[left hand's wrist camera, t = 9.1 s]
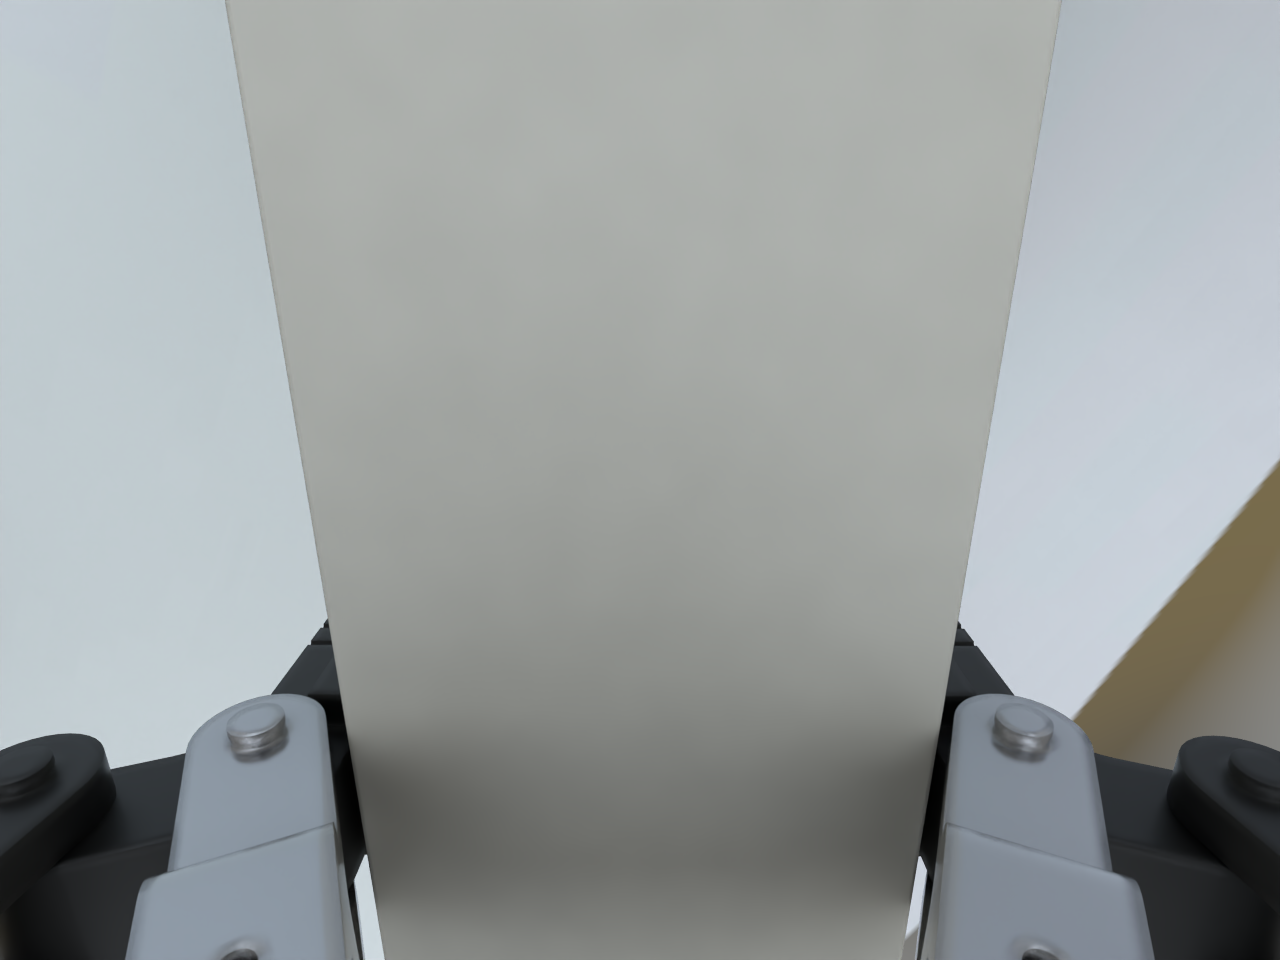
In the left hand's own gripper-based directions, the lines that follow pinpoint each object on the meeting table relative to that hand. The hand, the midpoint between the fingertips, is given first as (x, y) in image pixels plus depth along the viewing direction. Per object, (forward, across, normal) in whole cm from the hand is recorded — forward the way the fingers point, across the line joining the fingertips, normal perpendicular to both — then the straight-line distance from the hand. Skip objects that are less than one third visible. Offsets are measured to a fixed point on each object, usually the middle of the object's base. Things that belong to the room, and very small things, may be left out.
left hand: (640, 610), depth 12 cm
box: (+7, 0, -9) cm, 11 cm away
